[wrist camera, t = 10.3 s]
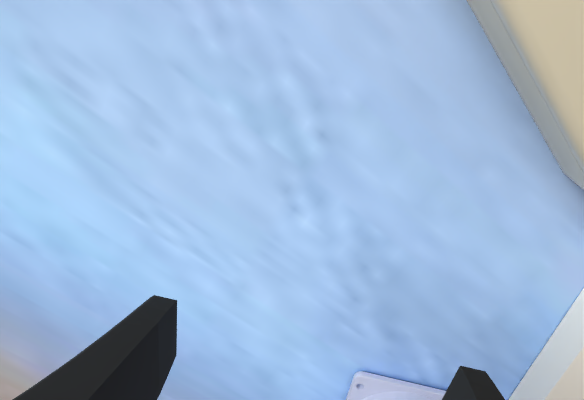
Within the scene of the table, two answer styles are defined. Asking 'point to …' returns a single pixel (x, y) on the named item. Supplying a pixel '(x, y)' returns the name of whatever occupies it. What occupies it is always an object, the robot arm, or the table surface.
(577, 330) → the power strip
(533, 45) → the electrical outlet
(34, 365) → the table surface
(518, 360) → the table surface
